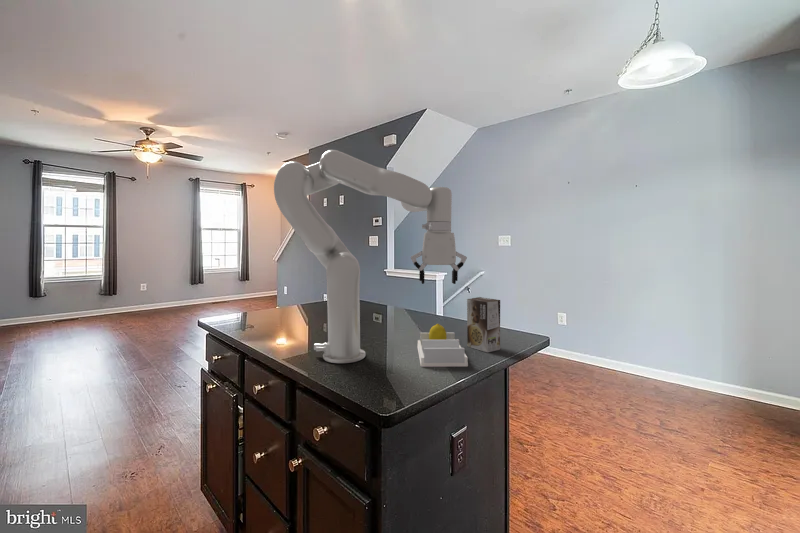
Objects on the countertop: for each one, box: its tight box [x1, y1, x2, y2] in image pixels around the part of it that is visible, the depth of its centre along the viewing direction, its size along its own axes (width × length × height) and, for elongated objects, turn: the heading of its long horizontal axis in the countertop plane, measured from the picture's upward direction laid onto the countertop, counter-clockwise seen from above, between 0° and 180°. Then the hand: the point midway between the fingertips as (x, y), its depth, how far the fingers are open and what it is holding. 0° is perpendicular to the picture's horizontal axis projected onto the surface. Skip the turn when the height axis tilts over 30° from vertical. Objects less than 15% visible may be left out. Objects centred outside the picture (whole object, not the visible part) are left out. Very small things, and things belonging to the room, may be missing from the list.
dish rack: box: [416, 331, 469, 368], centre depth 109 cm, size 13×19×5 cm
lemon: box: [428, 323, 447, 340], centre depth 113 cm, size 6×6×8 cm
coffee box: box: [466, 296, 501, 353], centre depth 117 cm, size 9×6×16 cm
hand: (438, 283), depth 112 cm, fingers open, 9 cm apart
